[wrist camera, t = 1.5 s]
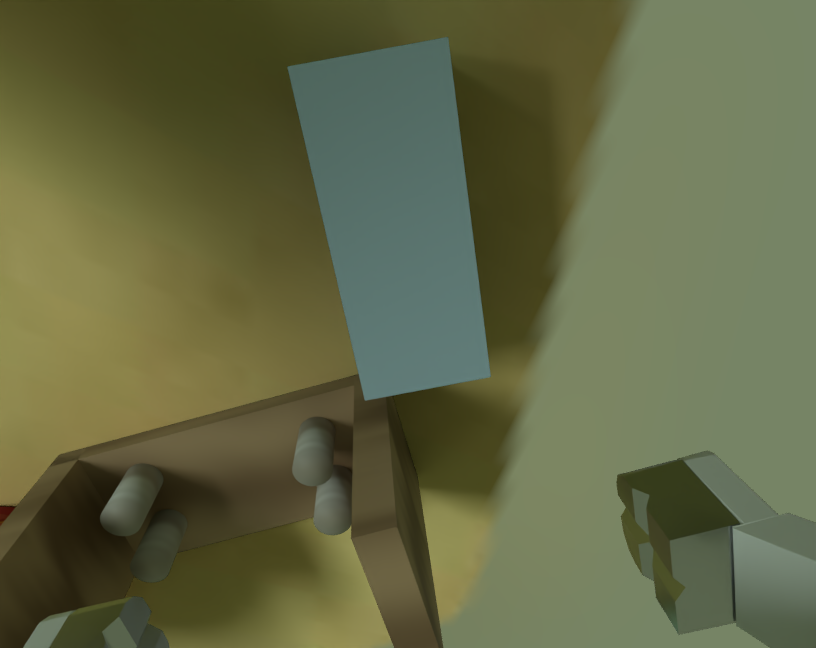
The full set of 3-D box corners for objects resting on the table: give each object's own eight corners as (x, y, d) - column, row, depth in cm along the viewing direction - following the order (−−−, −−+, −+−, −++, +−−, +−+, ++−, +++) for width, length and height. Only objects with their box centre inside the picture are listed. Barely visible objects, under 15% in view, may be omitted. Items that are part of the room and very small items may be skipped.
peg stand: (58, 454, 28) (-110, 658, 18) (383, 367, 28) (396, 526, 18) (121, 555, 31) (5, 781, 21) (417, 477, 30) (446, 669, 20)
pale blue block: (305, 72, 23) (287, 66, 17) (426, 50, 23) (447, 37, 17) (363, 338, 27) (364, 400, 22) (464, 319, 27) (490, 377, 22)
